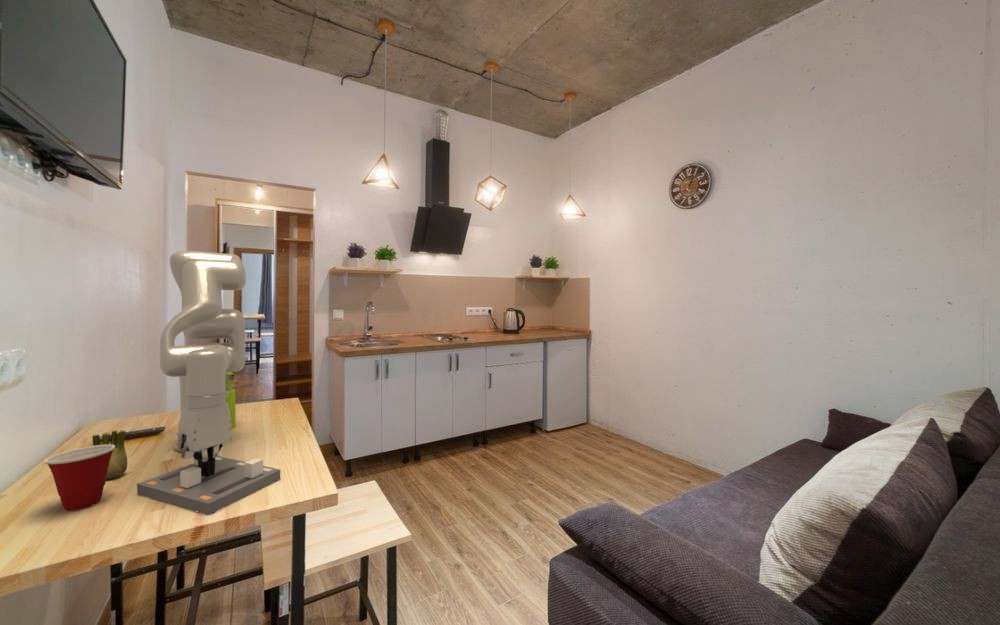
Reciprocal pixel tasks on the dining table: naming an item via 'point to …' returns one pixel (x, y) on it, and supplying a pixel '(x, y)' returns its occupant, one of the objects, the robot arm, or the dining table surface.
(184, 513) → the dining table surface
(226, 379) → the soap dispenser
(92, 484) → the plastic cup
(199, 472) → the switch
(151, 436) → the dining table surface
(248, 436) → the dining table surface
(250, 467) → the right switch
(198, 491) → the switch panel
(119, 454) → the fennel bulb
